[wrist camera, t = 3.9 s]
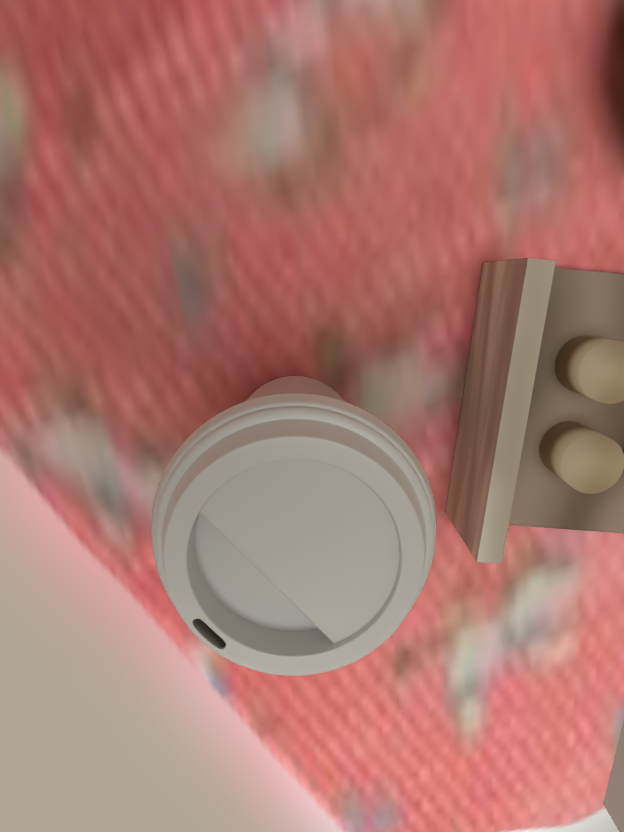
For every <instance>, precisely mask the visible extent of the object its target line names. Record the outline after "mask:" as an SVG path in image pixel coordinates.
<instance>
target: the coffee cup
mask: <svg viewBox="0 0 624 832" xmlns="http://www.w3.org/2000/svg"><path fill="white" fill-rule="evenodd" d="M151 530H152V547H153V554H154V559H155V563H156V567H157V570H158V573H159V576H160V579H161V581H162V584H163V586H164V588H165V590H166V592H167V594H168V596H169V598H170V600H171V602H172V603H173V605H174V606H175V608H176V609H177V611H178V613H179V614H180V616H181V618H182V619H183V621H184V622H185V623H186V625H187V626H188V627H189V629H190V630H191V631H192V632H193V633H194V634H195V635H196V636H197V637H198V638H199V639H200V640H201V641H202V642H203V643H204V644H205V645H207V646H208V647H209V648H210V649H212V650H213V651H215V652H216V653H217V654H219V655H221V656H222V657H224V658H226V659H228V660H230V661H232V662H234V663H236V664H238V665H241V666H243V667H246V668H249V669H252V670H255V671H259V672H263V673H269V674H275V675H288V676H299V675H311V674H317V673H323V672H327V671H331V670H334V669H338V668H340V667H343V666H346V665H348V664H350V663H353V662H355V661H357V660H359V659H361V658H362V657H364V656H366V655H367V654H369V653H370V652H372V651H373V650H375V649H376V648H377V647H379V646H380V645H381V644H382V643H384V642H385V641H386V640H387V639H388V638H389V637H390V636H391V635H392V634H393V633H394V632H395V631H396V629H397V628H398V627H399V626H400V625H401V623H402V622H403V620H404V619H405V618H406V616H407V614H408V613H409V611H410V609H411V608H412V606H413V605H414V603H415V602H416V600H417V598H418V596H419V595H420V593H421V591H422V589H423V586H424V584H425V582H426V579H427V577H428V574H429V571H430V568H431V565H432V561H433V557H434V552H435V544H436V510H435V503H434V498H433V494H432V490H431V487H430V484H429V481H428V479H427V476H426V474H425V472H424V470H423V468H422V466H421V464H420V462H419V461H418V459H417V458H416V456H415V454H414V453H413V452H412V450H411V449H410V448H409V446H408V445H407V444H406V443H405V442H404V440H403V439H402V438H401V437H400V436H399V435H398V434H397V433H396V432H395V431H394V430H392V429H391V428H390V427H389V426H388V425H386V424H385V423H384V422H382V421H381V420H380V419H378V418H377V417H375V416H374V415H372V414H370V413H369V412H367V411H365V410H363V409H361V408H359V407H357V406H354V405H352V404H349V403H347V402H346V401H345V400H344V399H343V398H342V397H341V396H340V395H339V394H338V393H337V392H336V391H335V390H334V389H333V388H331V387H330V386H328V385H327V384H325V383H323V382H321V381H319V380H316V379H314V378H310V377H305V376H286V377H281V378H277V379H274V380H272V381H270V382H268V383H266V384H264V385H262V386H261V387H260V388H258V389H257V390H256V391H255V392H254V393H253V394H252V395H251V396H250V397H249V398H248V399H247V400H246V401H245V402H242V403H240V404H237V405H235V406H232V407H230V408H228V409H226V410H224V411H222V412H220V413H219V414H217V415H215V416H214V417H212V418H211V419H209V420H208V421H206V422H205V423H204V424H202V425H201V426H200V427H199V428H198V429H196V430H195V431H194V432H193V433H192V434H191V435H190V436H189V437H188V438H187V439H186V440H185V441H184V442H183V444H182V445H181V446H180V447H179V448H178V450H177V451H176V453H175V454H174V455H173V457H172V458H171V460H170V462H169V463H168V465H167V467H166V469H165V471H164V473H163V475H162V477H161V480H160V482H159V485H158V488H157V491H156V495H155V499H154V504H153V510H152V522H151Z"/></svg>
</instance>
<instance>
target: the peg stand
mask: <svg viewBox="0 0 624 832" xmlns="http://www.w3.org/2000/svg"><path fill="white" fill-rule="evenodd" d="M555 263H556V261H553V260H543V259H532V258H524V259H513V260H502V261H492V262H483V266H482V273H481V279H480V286H479V293H478V299H477V306H476V313H475V319H474V326H473V332H472V339H471V346H470V352H469V359H468V366H467V372H466V379H465V385H464V392H463V399H462V405H461V412H460V419H459V425H458V432H457V438H456V445H455V452H454V458H453V465H452V472H451V478H450V485H449V491H448V498H447V505H446V511H445V512H446V514H447V516H448V517H449V519H450V520H451V522H452V523H453V525H454V527H455V528H456V530H457V531H458V533H459V534H460V536H461V538H462V539H463V541H464V542H465V544H466V545H467V547H468V549H469V550H470V552H471V553H472V555H473V556H474V558H475V559H476V561H477V562H487V563H501V564H502V559H503V554H504V548H505V542H506V537H507V531H508V526H509V525H517V526H531V527H544V528H558V529H572V530H586V531H600V532H613V533H624V274H618V273H607V272H597V271H586V270H575V269H564V268H555Z"/></svg>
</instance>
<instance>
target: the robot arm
mask: <svg viewBox="0 0 624 832" xmlns="http://www.w3.org/2000/svg"><path fill="white" fill-rule="evenodd" d="M603 804H604V806H605V808H606V809H607V811H608V813H609V814H610V816H611V818H612V819H613V821H614V823H615V825H616V826H617V828H618V830H619V831H620V832H624V720H623V724H622V729H621V733H620V737H619V741H618V745H617V749H616V753H615V757H614V761H613V766H612V770H611V774H610V778H609V782H608V786H607V790H606V794H605V799H604V803H603Z"/></svg>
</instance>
